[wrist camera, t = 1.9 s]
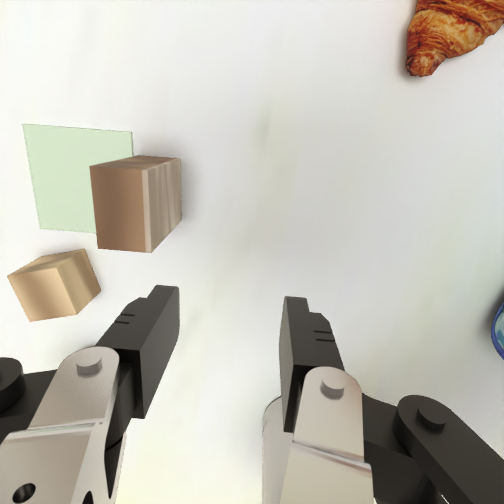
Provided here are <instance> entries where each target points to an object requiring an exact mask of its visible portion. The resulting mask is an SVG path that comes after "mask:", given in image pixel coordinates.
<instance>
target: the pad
mask: <svg viewBox="0 0 504 504" xmlns="http://www.w3.org/2000/svg"><path fill="white" fill-rule="evenodd" d="M22 126H23V131H24V137H25V143H26V149H27V155H28V161H29V167H30V173H31V178H32V184H33V190H34V196H35V202H36V208H37V214H38V220H39V225H40V229H50V230H62V231H75V232H87V233H96V225H95V216H94V206H93V197H92V187H91V178H90V169H89V166H91V165H96V164H101V163H105V162H110V161H115V160H119V159H124V158H129V157H133V148H132V132H120V131H107V130H95V129H82V128H69V127H56V126H44V125H31V124H22Z"/></svg>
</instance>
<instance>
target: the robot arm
mask: <svg viewBox="0 0 504 504" xmlns="http://www.w3.org/2000/svg"><path fill="white" fill-rule="evenodd" d="M179 326H180V319H179V288H178V287H175V286H163V285H156V286H155V287H154V289H153V290H152V291H151V293H150V294H149V296H148V297H147V298H141V297H139V298H138V299H136V300H134V301H133V302H131V303H129V304H128V305H127V306H126V307H125V308H124V310H123V311H122V312H121V313H120V315H119V316H118V317H117V318H116V320H115V322H114V323H113V324H112V325H111V326H110V327H109V329H108V330H107V331H106V332H105V334H104V335H103V336H102V337H101V339H100V340H99V341H98V342H97V344H96V345H95V346H94V347H90V348H85V349H82V350H79V351H77V352H75V353H73V354H71V355H70V356H68V357H67V358H66V359H64V360H63V361H62V363H61V364H60V365H59V367H58V369H56V370H51V371H43V372H36V373H29V374H24V373H23V369H22V365H21V363H20V362H19V361H18V360H16V359H13V358H5V357H2V358H0V504H115V501H116V495H117V490H118V484H119V478H120V472H121V467H122V461H123V455H124V449H125V444H126V429H127V426H128V424H129V422H130V420H131V418H139V419H144V418H145V416H146V414H147V411H148V409H149V407H150V404H151V402H152V399H153V397H154V395H155V392H156V390H157V388H158V385H159V383H160V380H161V378H162V376H163V373H164V371H165V369H166V366H167V364H168V361H169V359H170V357H171V354H172V352H173V350H174V347H175V345H176V342H177V339H178V335H179ZM279 360H280V379H281V397H280V398H278V399H277V400H275V401H274V402H272V403H271V404H270V405H269V406H268V408H267V409H266V411H265V414H264V417H263V474H262V504H374V499H373V497H374V498H375V500H376V503H377V504H448V503H449V504H504V460H503V459H502V458H501V457H500V456H499V455H498V454H497V453H496V452H495V451H494V450H493V449H492V448H491V447H490V446H489V445H488V444H486V443H485V442H484V441H483V440H482V439H481V438H480V437H479V436H478V435H477V434H476V433H475V432H474V431H473V430H472V429H471V428H470V427H468V426H467V425H466V424H465V423H464V422H463V421H462V420H461V419H460V418H459V417H458V416H457V415H456V414H455V413H454V412H452V411H451V410H450V409H449V408H448V407H446V406H445V405H443V404H441V403H440V402H438V401H436V400H434V399H431V398H428V397H425V396H420V395H409V396H406V397H404V398H402V399H401V400H400V401H399V403H398V406H397V407H396V406H393V405H390V404H387V403H384V402H381V401H378V400H376V399H373V398H371V397H369V396H367V395H365V394H363V393H362V392H361V388H360V386H359V384H358V383H357V381H356V380H355V379H354V378H353V377H352V376H350V375H349V374H348V373H346V372H345V369H344V366H343V363H342V360H341V357H340V354H339V351H338V348H337V345H336V343H335V338H334V335H333V334H332V329H331V326H330V323H329V321H328V320H327V319H326V318H325V317H324V316H323V315H322V314H321V313H312V312H309V308H308V304H307V299H306V298H302V297H290V296H285V298H284V304H283V312H282V321H281V329H280V338H279ZM441 495H443V497H444V498H445V499H446V500H447V502H448V503H447V502H446V501H445V499H444V498H443V497H442V496H441Z"/></svg>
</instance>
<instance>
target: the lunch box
mask: <svg viewBox="0 0 504 504" xmlns="http://www.w3.org/2000/svg"><path fill="white" fill-rule="evenodd" d="M491 338H492V342H493V344H494V347H495V349H496V350H497V352H498V353H499V355H500V356H501V357H502V358H503V360H504V302H503V304H502V305H501V307H500V308H499V310H498V312H497V314H496V316H495V318H494V321H493V323H492V328H491Z"/></svg>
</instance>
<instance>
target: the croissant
mask: <svg viewBox="0 0 504 504" xmlns="http://www.w3.org/2000/svg"><path fill="white" fill-rule="evenodd" d="M503 24H504V0H418V2H417V6H416V13H415V15H414V17H413V19H412V21H411V23H410V25H409V28H408V38H407V59H406V69H407V71H408V72H409V73H410V75H411V76H417V75H418V76H419V77H423V76H429V75H432V74H433V72H434V71H435V70H436V69H437V67H438V66H439V65H440V64H441V63H442V62H443V61H444V60H445V58H453V57H457V56H461V55H463V54H466V53H468V52H470V51H472V50H474V49H475V48H477V47H478V46H480V45H482V44H483V43H484V41H485V39H486V38H487V37H488V36H490V35H494V34H495V33H496V32H497V31H498V30H499V29H500V27H501V26H502V25H503Z"/></svg>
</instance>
